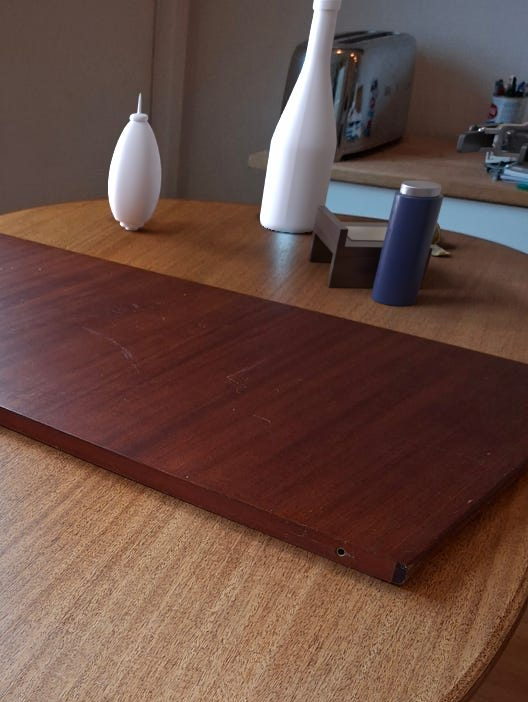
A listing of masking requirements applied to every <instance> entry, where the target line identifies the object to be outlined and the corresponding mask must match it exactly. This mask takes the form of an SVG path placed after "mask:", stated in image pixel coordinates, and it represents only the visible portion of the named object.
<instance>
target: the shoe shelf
mask: <svg viewBox="0 0 528 702" xmlns="http://www.w3.org/2000/svg"><path fill="white" fill-rule="evenodd" d="M387 225H388V222H373V221H371V222H370V221H369V222H368V221H366V222H365V221H363V222H362V221H341V220H340V219H339V218H338V217H337V216H336V215H335V214H334V213H333V212H332V211H331V210H330V209H329V208H328V207H327V206H326V205H325V206H320V205H318V208H317V213H316V218H315V224H314V229H313V232H312V235H311V239H310V240H311V241H310V246H309V251H308V256H307V260H308V262H309V263H330V266H329V271H328V276H327V283H326V285H327V287H328V288H340V289H341V288H343V289H373V285H374V281H375V277H376V272H377V268H378V264H379V260H380V255H381V251H382V247H383V243H384V238H385V234H386V230H387ZM432 250H433V248H432V247H430V250H429V254H428V258H427V262H426V265H425V269H424V273H423V277H422V280H421V284H420V288H419V290H423V287H424V283H425V279H426V275H427V272H428V268H429V264H430V260H431V258H432V257H431V256H432V254H431V253H432Z"/></svg>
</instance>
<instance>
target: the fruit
mask: <svg viewBox="0 0 528 702" xmlns="http://www.w3.org/2000/svg"><path fill="white" fill-rule="evenodd" d="M441 229H442V228H441V227H440V224H439V223H438V222H437V224H436V228H435V232H434V235H433V239H432V243H431V247H432V248H433V250H432V253H431V256H446V255H451V252H448V251H446V250H445V249H443V248H442V247H440V245H439V244H440V242H441V239H442V230H441Z"/></svg>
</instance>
